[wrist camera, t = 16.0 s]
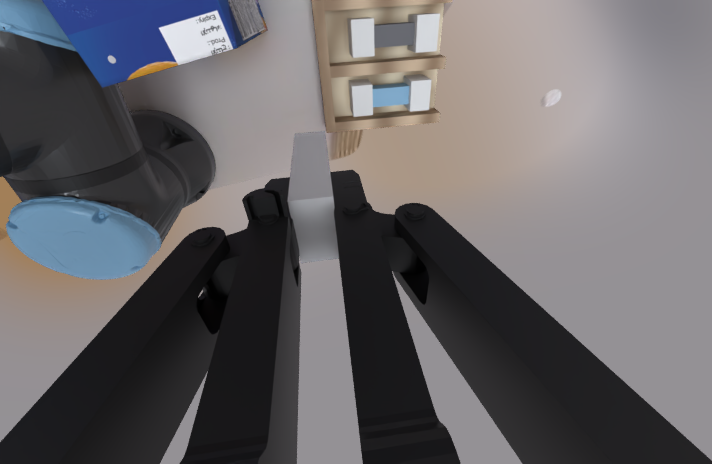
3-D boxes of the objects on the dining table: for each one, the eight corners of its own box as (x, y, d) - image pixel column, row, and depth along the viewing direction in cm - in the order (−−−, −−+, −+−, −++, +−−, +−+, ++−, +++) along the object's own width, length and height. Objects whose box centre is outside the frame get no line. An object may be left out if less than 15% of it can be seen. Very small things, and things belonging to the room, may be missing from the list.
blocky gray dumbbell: (349, 53, 43) (352, 57, 39) (347, 18, 40) (351, 19, 37) (426, 47, 43) (436, 51, 40) (428, 12, 41) (440, 13, 37)
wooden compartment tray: (443, -11, 40) (453, -12, 37) (431, 115, 50) (439, 122, 47) (311, -2, 39) (311, -3, 36) (325, 125, 49) (326, 133, 46)
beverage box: (268, 29, 40) (237, 47, 23) (190, 52, 41) (101, 87, 23) (245, -38, 36) (186, -78, 19) (158, -11, 37) (22, -26, 19)
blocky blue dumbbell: (350, 108, 47) (353, 116, 43) (348, 80, 45) (351, 86, 41) (420, 102, 48) (428, 109, 44) (422, 73, 45) (431, 79, 42)
